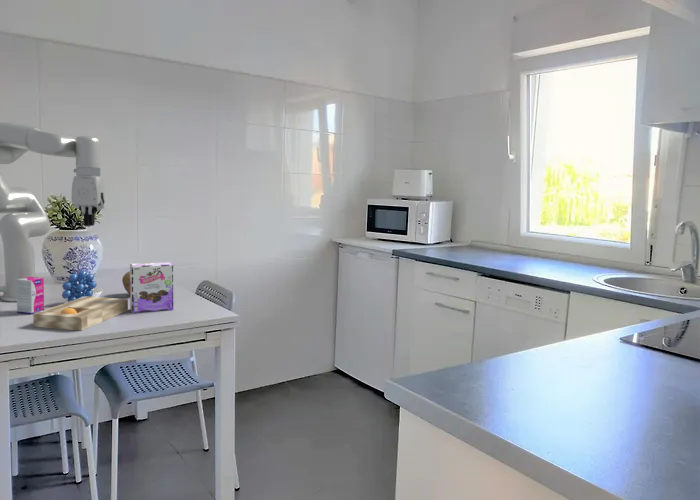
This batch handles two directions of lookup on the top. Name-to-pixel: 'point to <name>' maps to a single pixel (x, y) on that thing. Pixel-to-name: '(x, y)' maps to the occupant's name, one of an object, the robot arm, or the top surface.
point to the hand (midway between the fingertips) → (89, 225)
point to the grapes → (78, 286)
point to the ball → (69, 311)
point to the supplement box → (30, 295)
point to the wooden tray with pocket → (80, 313)
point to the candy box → (151, 287)
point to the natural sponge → (126, 281)
